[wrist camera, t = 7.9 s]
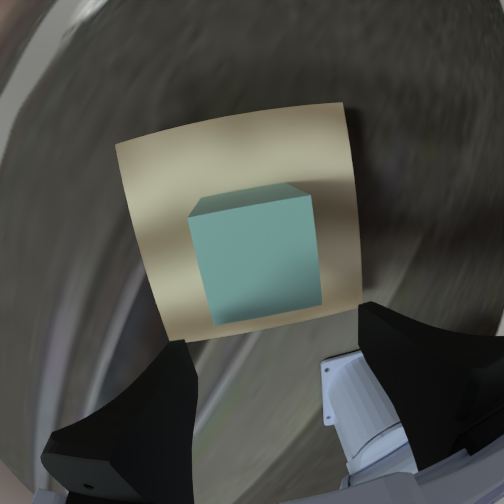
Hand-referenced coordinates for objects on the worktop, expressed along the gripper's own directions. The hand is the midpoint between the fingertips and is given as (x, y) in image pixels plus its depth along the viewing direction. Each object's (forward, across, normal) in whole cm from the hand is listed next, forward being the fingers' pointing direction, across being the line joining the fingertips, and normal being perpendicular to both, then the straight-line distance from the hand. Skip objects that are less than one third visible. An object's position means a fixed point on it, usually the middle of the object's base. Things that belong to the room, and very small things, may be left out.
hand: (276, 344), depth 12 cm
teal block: (+8, 0, -3) cm, 8 cm away
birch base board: (+10, 0, -3) cm, 11 cm away
